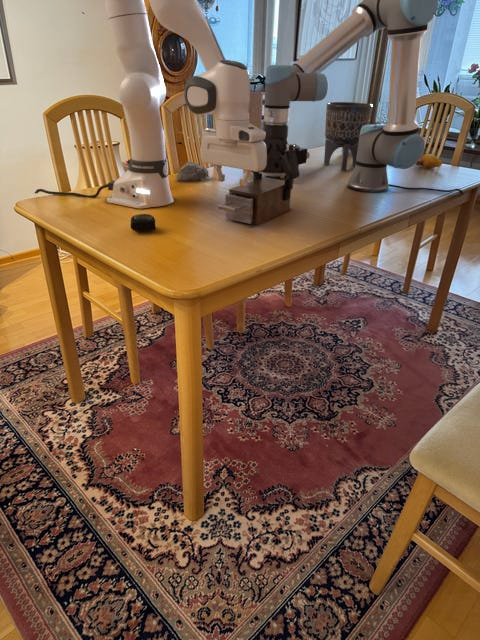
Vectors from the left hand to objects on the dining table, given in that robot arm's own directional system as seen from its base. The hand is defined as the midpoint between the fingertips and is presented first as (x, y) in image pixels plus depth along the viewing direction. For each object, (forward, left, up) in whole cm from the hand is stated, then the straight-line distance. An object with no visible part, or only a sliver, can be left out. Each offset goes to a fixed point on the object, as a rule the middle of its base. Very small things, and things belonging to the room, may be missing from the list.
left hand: (232, 183), depth 128 cm
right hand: (+6, +22, -8) cm, 24 cm away
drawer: (+3, +9, -12) cm, 15 cm away
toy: (+58, +115, -13) cm, 129 cm away
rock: (-33, +49, -13) cm, 61 cm away
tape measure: (-22, -13, -13) cm, 28 cm away
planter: (+20, +99, -13) cm, 102 cm away
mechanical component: (-3, +75, -13) cm, 76 cm away
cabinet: (+4, +15, -13) cm, 20 cm away
